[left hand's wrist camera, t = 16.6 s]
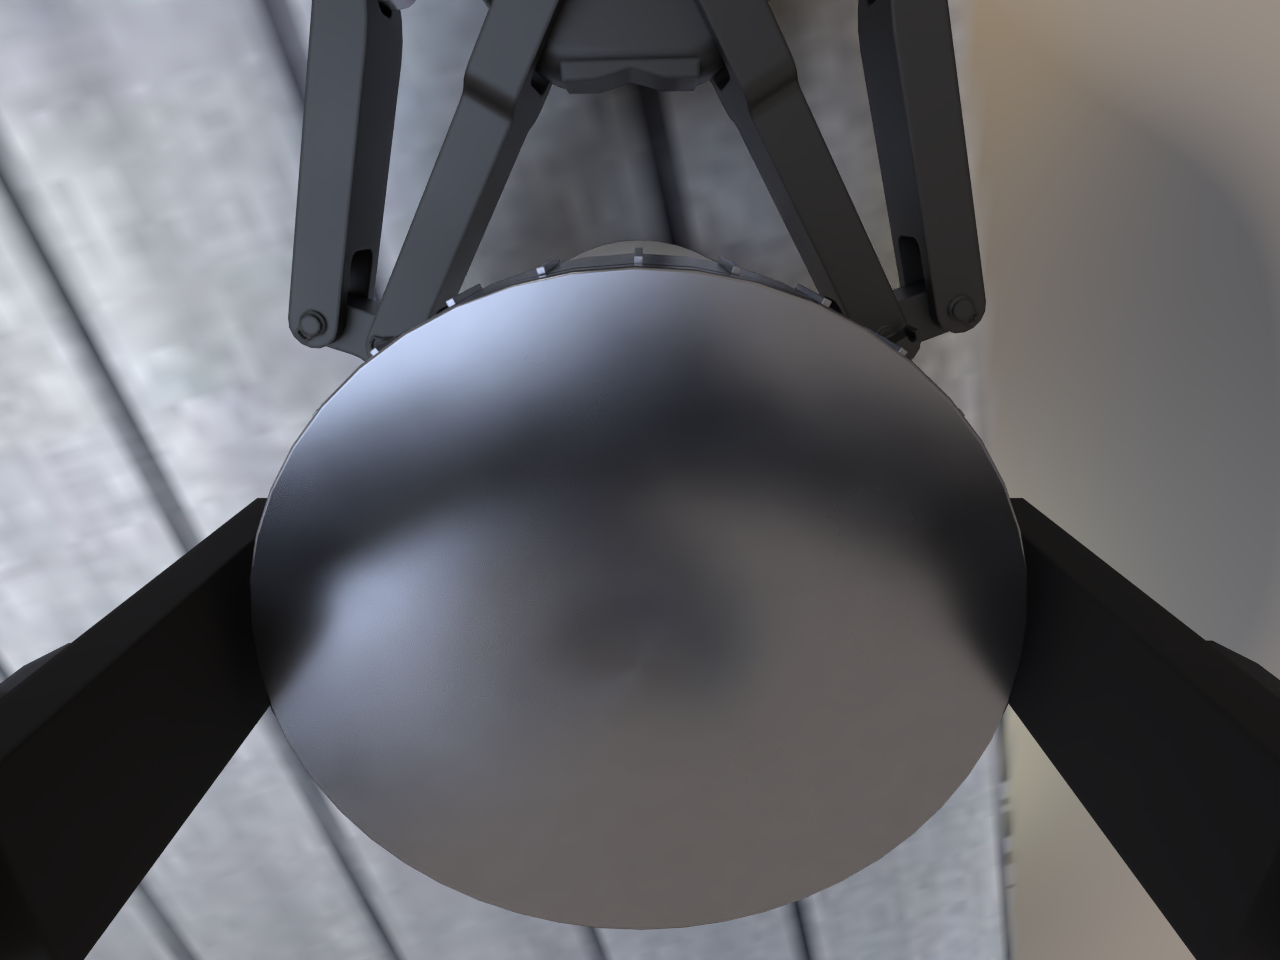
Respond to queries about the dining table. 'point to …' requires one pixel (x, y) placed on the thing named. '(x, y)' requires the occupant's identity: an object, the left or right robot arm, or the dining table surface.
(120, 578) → the dining table surface
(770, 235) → the dining table surface
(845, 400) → the lid
